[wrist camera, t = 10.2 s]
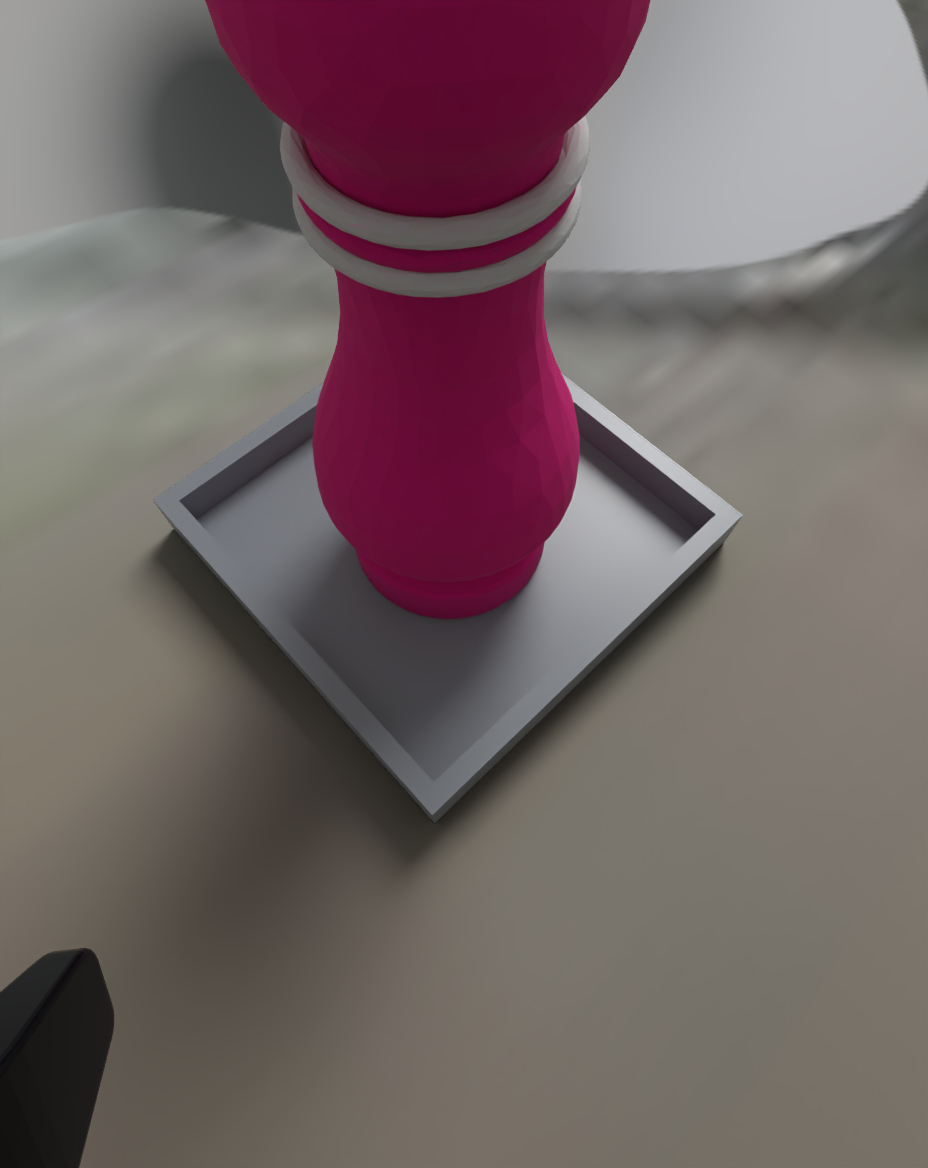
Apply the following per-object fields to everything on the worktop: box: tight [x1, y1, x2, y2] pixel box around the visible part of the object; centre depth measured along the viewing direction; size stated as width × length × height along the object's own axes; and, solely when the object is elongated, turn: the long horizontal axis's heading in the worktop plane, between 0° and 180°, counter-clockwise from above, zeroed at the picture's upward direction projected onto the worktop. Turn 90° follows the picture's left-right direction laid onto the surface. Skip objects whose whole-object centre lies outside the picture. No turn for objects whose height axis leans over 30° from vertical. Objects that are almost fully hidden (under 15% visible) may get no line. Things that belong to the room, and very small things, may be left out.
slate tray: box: [153, 374, 743, 823], centre depth 23 cm, size 13×13×2 cm
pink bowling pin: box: [205, 0, 650, 619], centre depth 15 cm, size 7×7×20 cm
